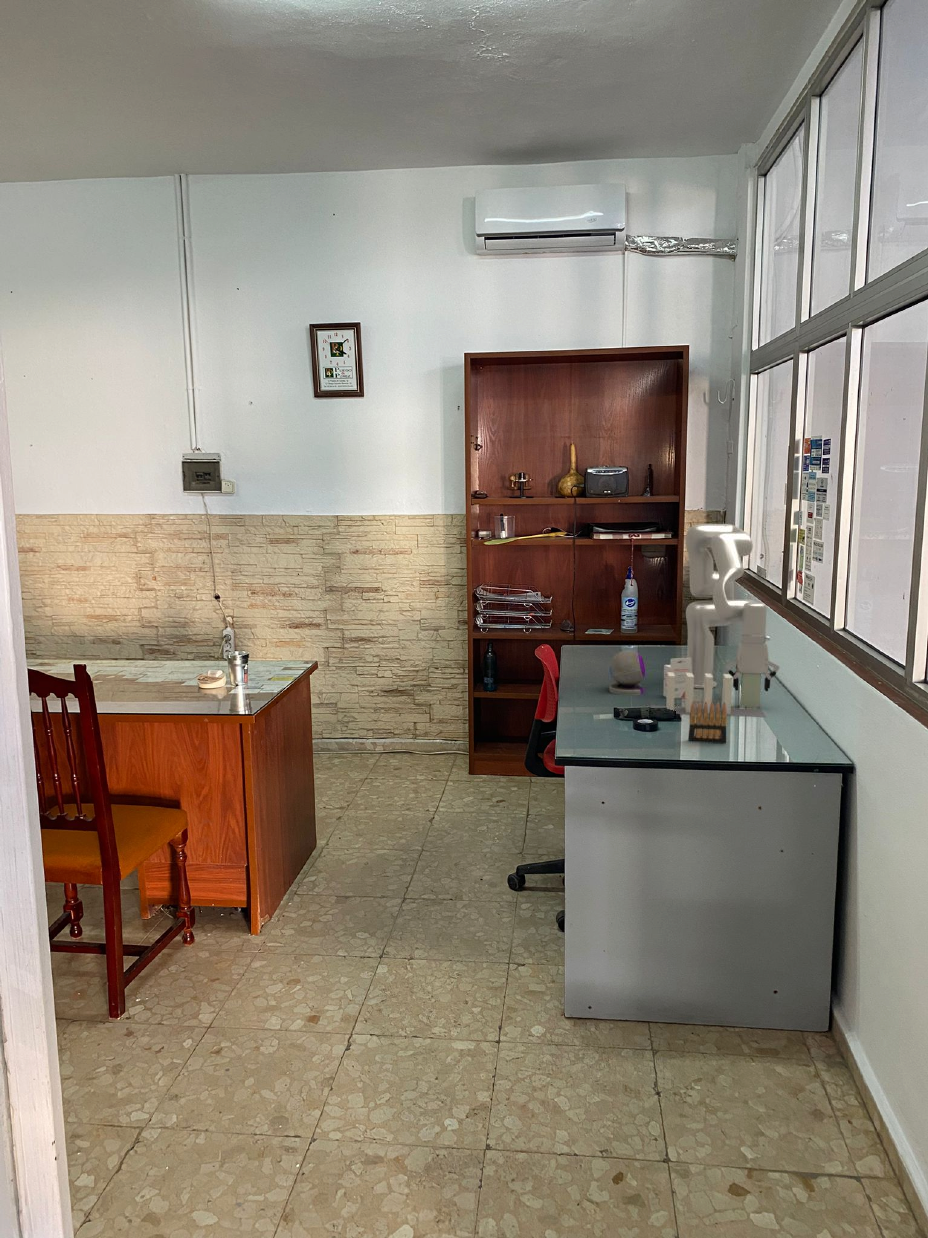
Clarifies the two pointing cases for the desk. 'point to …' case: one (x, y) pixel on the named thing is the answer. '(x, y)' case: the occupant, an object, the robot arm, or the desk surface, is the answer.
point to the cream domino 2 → (689, 692)
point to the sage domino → (750, 690)
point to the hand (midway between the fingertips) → (751, 690)
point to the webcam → (627, 673)
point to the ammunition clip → (707, 724)
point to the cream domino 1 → (670, 690)
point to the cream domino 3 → (708, 690)
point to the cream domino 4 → (727, 692)
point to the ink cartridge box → (678, 675)
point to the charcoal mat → (733, 711)
